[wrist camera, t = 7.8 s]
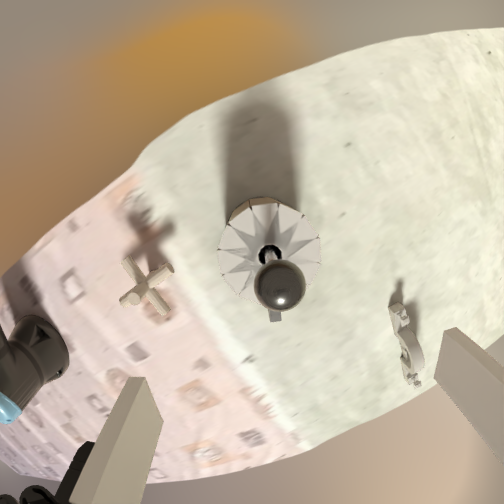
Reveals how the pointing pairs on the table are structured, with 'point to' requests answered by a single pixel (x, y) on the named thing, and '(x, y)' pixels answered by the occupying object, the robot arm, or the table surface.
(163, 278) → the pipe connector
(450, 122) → the table surface
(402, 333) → the gateway
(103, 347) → the table surface
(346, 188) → the table surface
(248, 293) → the wooden mug
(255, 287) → the plunger
